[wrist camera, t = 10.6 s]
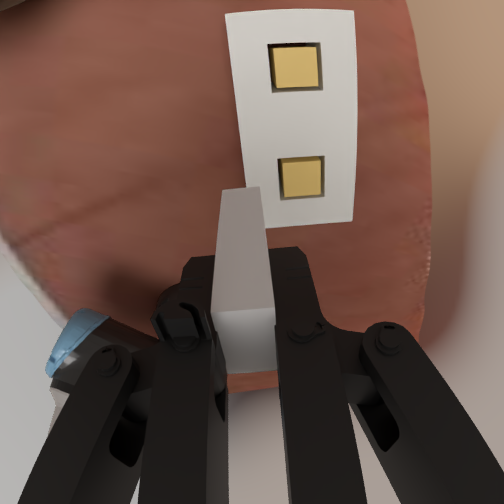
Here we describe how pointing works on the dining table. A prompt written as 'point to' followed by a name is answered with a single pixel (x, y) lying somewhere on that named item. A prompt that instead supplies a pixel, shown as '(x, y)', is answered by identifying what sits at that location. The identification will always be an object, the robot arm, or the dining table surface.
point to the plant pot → (9, 3)
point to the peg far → (300, 175)
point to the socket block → (297, 110)
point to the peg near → (293, 66)
